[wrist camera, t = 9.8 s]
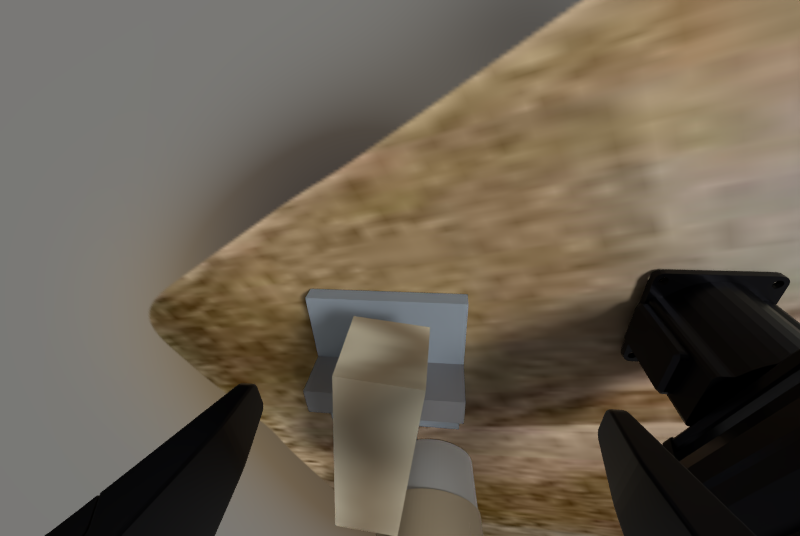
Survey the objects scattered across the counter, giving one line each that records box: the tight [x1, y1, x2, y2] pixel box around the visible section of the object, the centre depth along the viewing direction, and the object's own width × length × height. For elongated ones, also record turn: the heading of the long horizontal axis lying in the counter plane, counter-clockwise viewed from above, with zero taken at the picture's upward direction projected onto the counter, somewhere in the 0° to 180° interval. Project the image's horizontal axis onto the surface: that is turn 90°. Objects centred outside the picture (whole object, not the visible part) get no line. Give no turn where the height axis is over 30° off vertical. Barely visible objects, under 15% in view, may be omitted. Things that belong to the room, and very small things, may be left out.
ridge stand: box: [303, 289, 468, 429], centre depth 24 cm, size 10×12×4 cm
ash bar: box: [332, 316, 430, 536], centre depth 20 cm, size 4×14×4 cm, turn 175°
